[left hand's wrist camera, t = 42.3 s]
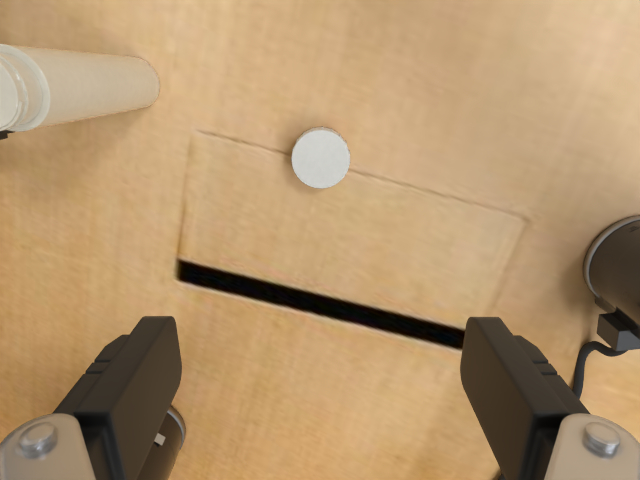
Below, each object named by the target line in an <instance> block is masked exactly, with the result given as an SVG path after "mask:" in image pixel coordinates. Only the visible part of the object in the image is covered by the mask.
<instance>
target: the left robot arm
mask: <svg viewBox="0 0 640 480" xmlns="http://www.w3.org/2000/svg"><path fill="white" fill-rule="evenodd" d="M583 273H584V279H585V282H586V284H587V286H588V288H589V289H590V290H591V291H592V292H593V293H594V294H595V297H596V298H595V303H596V304H597V305H598V306H599V307H601V308H602V309H603V310H604V311H605V312H607V314H599V319H598V327H597V334H598V335H599V336H600V337H601V338H602V339H603V340H604V341H606V342H607V343H608V344H609V345H610V346H611V347H612V348H609V347H607V346H605V345H603V344H602V343H600V342H597V341H592V342H589V343H587V344H585V345H584V346H583V347H582V348H581V350H580V352H579V355H578V359H577V363H576V368H575V380H574V387H573V391H572V390H571V389H570V388H569V386H568V385H567V384H566V383H565V381H564V380H563V379H562V378H561V376H560V375H557V371H556V370H555V369H554V368H553V366H552V365H551V364H549V363H548V360H547V359H546V358H545V356H544V355H543V354H542V353H541V351H540V350H539V349H538V347H536V346H535V345H533V344H532V343H530V342H529V341H527V340H526V339H524V338H523V337H522V336H513V335H512V333H511V332H510V331H509V329H508V328H507V327H506V325H505V324H504V323H503V321H502V320H501V319H500V318H499V317H470V318H469V319H468V321H467V324H466V330H465V337H464V344H463V351H462V357H461V365H460V373H461V380H462V385H463V388H464V390H465V392H466V394H467V397H468V399H469V401H470V403H471V405H472V407H473V410H474V412H475V414H476V416H477V418H478V421H479V423H480V425H481V427H482V429H483V431H484V434H485V436H486V438H487V440H488V442H489V445H490V447H491V449H492V451H493V453H494V455H495V458H496V460H497V462H498V464H499V466H500V469H501V471H502V474H501V476H500V477H499V479H498V480H640V444H639V442H638V441H637V440H636V439H635V438H634V437H633V436H632V435H631V434H630V433H629V432H628V431H626V430H625V429H624V428H622V427H620V426H619V425H617V424H615V423H614V422H612V421H609V420H607V419H605V418H602V417H599V416H595V415H591V414H590V413H589V412H588V410H587V409H586V408H585V406H584V405H583V404H582V403H581V401H580V400H579V399H580V396H581V393H582V388H583V380H584V366H585V361H586V358H587V356H588V354H589V353H590V352H591V351H593V350H597V351H599V352H601V353H602V354H604V355H606V356H611V357H612V356H618V355H621V354H623V353H625V352H626V351H628V350H633V349H640V215H638V216H633V217H629V218H626V219H623V220H621V221H619V222H617V223H615V224H613V225H612V226H610V227H609V228H607V229H606V230H605V231H603V232H602V233H601V234H600V235H599V236H598V237H597V238H596V240H595V241H594V242H593V243H592V245H591V247H590V248H589V250H588V252H587V255H586V257H585V261H584V266H583ZM181 373H182V363H181V356H180V349H179V342H178V335H177V328H176V322H175V319H174V318H173V317H172V316H144V317H142V319H141V320H140V321H139V322H138V324H137V325H136V327H135V328H134V329H133V331H132V332H131V333H130V335H121V336H120V337H118V338H117V339H115V340H114V341H112V342H111V343H110V344H108V345H107V346H105V347H104V349H103V350H102V351H101V353H100V354H99V355H98V356H97V358H96V359H95V362H94V363H92V364H91V365H90V366H89V368H88V369H87V370H86V374H83V375H82V377H81V378H80V379H79V380H78V382H77V383H76V384H75V385H74V387H73V388H72V389H71V390H70V392H69V393H68V394H67V396H66V397H65V398H64V399H63V401H62V402H61V403H60V404H59V406H58V407H57V408H56V409H55V411H54V412H53V413H52V414H49V415H45V416H41V417H38V418H35V419H33V420H31V421H28V422H26V423H25V424H23V425H21V426H20V427H18V428H16V429H15V430H14V431H12V432H11V433H10V434H9V435H8V436H7V437H6V438H5V439H4V440H3V441H2V442H1V444H0V480H137V478H138V476H139V473H140V471H141V469H142V467H143V465H144V462H145V460H146V458H147V456H148V454H149V451H150V449H151V447H152V445H153V442H154V440H155V438H156V436H157V434H158V431H159V429H160V427H161V425H162V423H163V420H164V418H165V416H166V414H167V412H168V409H169V407H170V405H171V403H172V400H173V398H174V396H175V394H176V392H177V389H178V387H179V384H180V380H181Z"/></svg>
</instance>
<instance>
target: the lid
mask: <svg viewBox="0 0 640 480" xmlns="http://www.w3.org/2000/svg"><path fill="white" fill-rule="evenodd" d="M292 151H293V152H292V158H291V161H292V166H293V170H294V172H295V174H296V175H297V177H298V178H299V179H300V180H301V181H302V182H303V183H305V184H306V185H308V186H311V187H314V188H328V187H331V186H333V185H335V184H337V183H338V182H340V181H341V180H342V179H343V178H344V176H345V175H346V173H347V171H348V168H349V164H350V151H349V150H348V147H347V143H346V141H344V139H343V138H342V137H341V135H340V133H339V134H338V133H337V132H336V131H334V130H332V128H331V129H329V128H325V127H323V126H322V127H316V128H313V127H312V129H310V130H308V131H306V132H305V131H304V132H303V134H302V135H301V136H300V137H299V138H297V140H296V144H295V146H294V147H293V149H292Z"/></svg>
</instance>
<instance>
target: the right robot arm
mask: <svg viewBox="0 0 640 480" xmlns="http://www.w3.org/2000/svg"><path fill="white" fill-rule="evenodd" d="M13 132H15V131H9V130H3V131H0V140H2V139H6V138H8V137H7V134H8V133H13ZM185 435H186V428H185V424H184V421H183V419H182V417H181V416H180V414H179V413H178V412H177V411H176V410H175V409H174V408H173V407H171V406H170V407H169V409H168V412H167V414H166V416H165V418H164V420H163V423H162V425H161V427H160V429H159V431H158V434H157V436H156V438H155V440H154V442H153V445H152V447H151V449H150V451H149V454H148V456H147V458H146V460H145V462H144V465H143V467H142V469H141V471H140V473H139V476H138V478H137V480H168V479H169V476H170V474H171V471H172V469H173V466H174V463H175V461H176V458H177V455H178V453H179V450H180V449H181V447H182V444H183V442H184V439H185Z"/></svg>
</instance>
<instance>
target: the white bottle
mask: <svg viewBox="0 0 640 480" xmlns="http://www.w3.org/2000/svg"><path fill="white" fill-rule="evenodd" d="M159 90H160V83H159V79H158V76H157V73H156V72H155V70H154V69H153V67H152V66H151V65H150V64H149V63H148V62H146V61H145V60H143V59H141V58H138V57H133V56H123V55H113V54H102V53H92V52H81V51H71V50H61V49H50V48H40V47H29V46H19V45H9V44H0V131H3V130H9V131H16V132H23V131H29V130H34V129H39V128H44V127H49V126H55V125H60V124H65V123H70V122H75V121H81V120H86V119H91V118H96V117H101V116H107V115H112V114H117V113H122V112H127V111H133V110H138V109H143V108H146V107H149V106H150V105H152V104H153V103H154V102H155V100H156V99H157V97H158V95H159Z"/></svg>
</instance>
